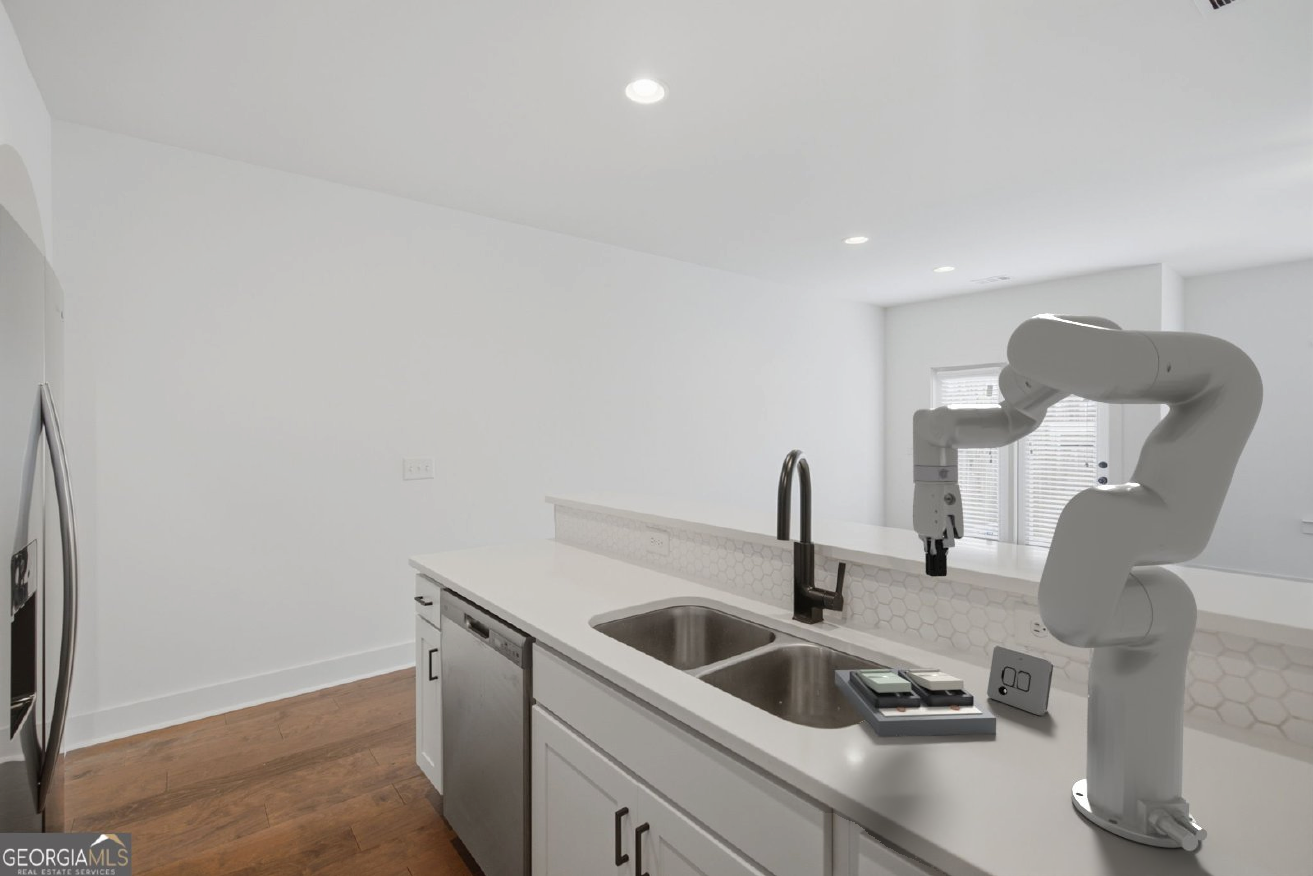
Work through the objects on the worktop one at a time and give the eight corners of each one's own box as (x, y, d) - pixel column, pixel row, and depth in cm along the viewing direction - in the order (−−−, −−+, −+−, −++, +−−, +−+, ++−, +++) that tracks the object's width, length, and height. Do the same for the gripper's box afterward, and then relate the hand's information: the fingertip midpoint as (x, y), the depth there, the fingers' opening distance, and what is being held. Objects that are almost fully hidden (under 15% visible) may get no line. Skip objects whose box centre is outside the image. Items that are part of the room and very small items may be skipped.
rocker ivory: (964, 690, 104) (962, 678, 105) (931, 691, 104) (930, 679, 104) (937, 679, 113) (936, 668, 113) (906, 680, 113) (906, 669, 113)
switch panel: (996, 733, 99) (996, 708, 99) (879, 737, 98) (879, 711, 98) (932, 680, 119) (932, 660, 119) (834, 683, 118) (834, 662, 118)
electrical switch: (985, 698, 112) (989, 645, 112) (1000, 693, 115) (1003, 642, 115) (1042, 718, 104) (1045, 662, 104) (1056, 713, 107) (1059, 658, 107)
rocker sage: (911, 692, 104) (910, 680, 104) (878, 693, 103) (877, 681, 104) (888, 680, 113) (887, 668, 113) (858, 680, 112) (857, 669, 112)
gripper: (979, 477, 108) (979, 584, 107) (933, 473, 122) (934, 566, 122) (937, 478, 107) (937, 585, 107) (896, 473, 122) (897, 567, 122)
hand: (936, 575), depth 115 cm, fingers closed
